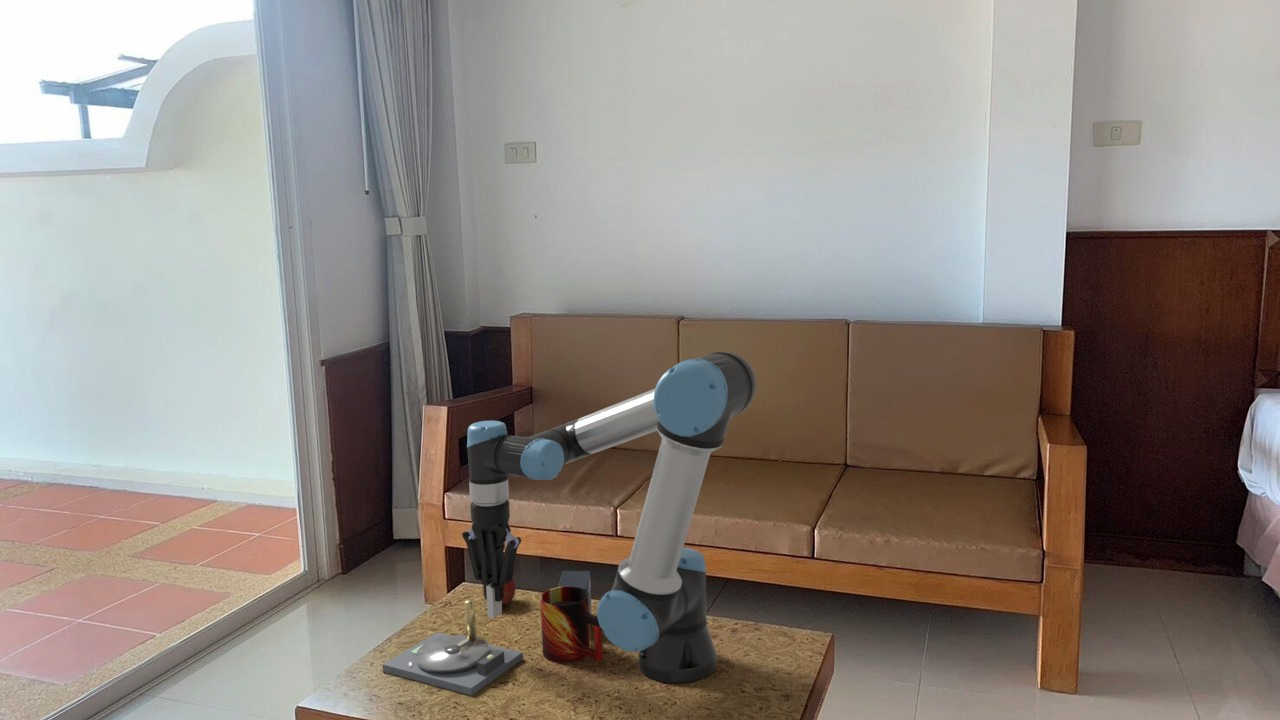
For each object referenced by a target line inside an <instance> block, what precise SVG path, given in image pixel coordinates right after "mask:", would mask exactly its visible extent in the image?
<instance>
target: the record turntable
mask: <svg viewBox="0 0 1280 720" xmlns="http://www.w3.org/2000/svg"><path fill="white" fill-rule="evenodd" d="M450 635H451V634H447V633H442V632H438V631H437V632H435V633H434V634H432V635H430V636H429V637H427V638H425V639H423V640H422V641H420V642H418V643H417V644H415V645H413V646H412V647H409V649H406V650H405V651H402V652H401V653H399V654H398V655H396V656H394V657H393V658H391V659H389V660H388V661H386V662H384V663H382V672H383V673H387V674H391V675H393V676H397V677H400V678H401V677H402V678H405V679H409V680H413V681H415V682H420V683H424V684H427V685H430V686H434V687H438V688H442V689H444V690H449V691H452V692H456V693H460V694H462V695H463V694H464V695H467V696H471V697H472V696H474V695H475V694H477V693H478V692H479V691H480V690H482V689H484V688H485V687H486V686H487V685H490V683H492V682H493V681H495V680H496V679H498V678H499V677H500V676H501V675H503V674H505V673H506V672H507V671H508V670H511V668H513V667H514V666H515V665H518V664H519V663H520V662H521V661H523V660H524V657H523V656H524V654H523V651H520V650H519V651H518V650H514V649H509V648H505V647H502V646H498V645H493V644H489V643H488V646H489V655H488V656H486V657H485V658H483V659H482V660H480V661H479V662H477V666H475V667H472V668H469V669H466V670H463V671H458V672H450V673H436V672H430V671H427V670H424V669H422V668H421V667H419V666H418V664H417V660H416V653H417V651H418V649H419V648H420V647H421V646H423V645H424V644H426V643H427V642H429V641H432V640H434V639H437V638H440V637H445V636H450Z"/></svg>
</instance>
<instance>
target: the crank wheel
mask: <svg viewBox="0 0 1280 720" xmlns="http://www.w3.org/2000/svg"><path fill="white" fill-rule="evenodd" d="M463 604H464V606H463V607H464V622H465V624H464V625H465V634H452V635H451V634H449V635H450V636H445V637H440V638H437V639H434V640H432V641H429V642H427V643H426V644H424V645H423V646H421V647H420V648H419V649H418V651H417V653H416V660H417V664H418V666H419V667H421V668H422V669H424V670H427V671H430V672H436V673H450V672H458V671H463V670H466V669H469V668H472V667H475V666H477V662H479V661H480V660H482V659H483V658H485V657H486V656H488V655H489V646H488V644H489V643H488V642H487V641H486V640H485V639H483V638H482V637H479V636H477V627H476V626H477V623H476V609H475V599H473V598H467V599H464V601H463Z"/></svg>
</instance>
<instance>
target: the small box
mask: <svg viewBox="0 0 1280 720" xmlns="http://www.w3.org/2000/svg"><path fill="white" fill-rule="evenodd" d="M590 573H591V571H589V570H583V571H582V570H579V571H578V570H574V571H573V570H563V571H562V573H561V576H560V579H559V583H558V586H557V587H566V586H570V587H578V588H582V589H584V590H586V591H587V592H588V599H589V613H590V614H592V594H591V593H592V592H591V591H592V590H591V574H590Z"/></svg>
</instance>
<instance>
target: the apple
mask: <svg viewBox="0 0 1280 720" xmlns="http://www.w3.org/2000/svg"><path fill="white" fill-rule="evenodd" d="M481 588H482V589H481V590H482V593H483V596H484V584H483V583H482V587H481ZM515 594H516V583H515V580H514V578H513V577H512V580H511V581H510V582H508V583H507V584H505V585H504V599H503V600H501V601H502V606H505V605H508V604H510V603H511V602H512V601H513V600H514V597H515ZM485 601H487V599H485Z"/></svg>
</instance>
